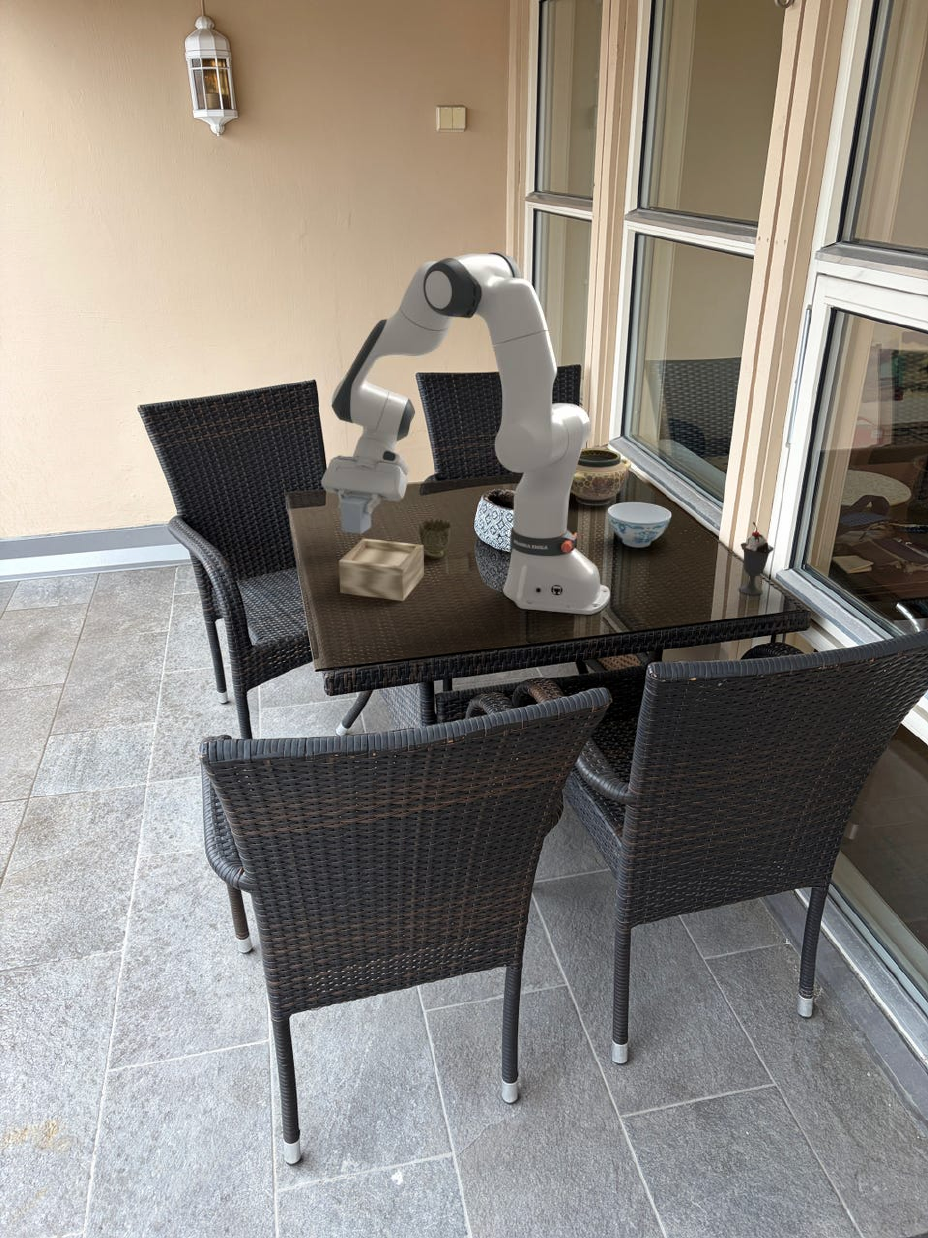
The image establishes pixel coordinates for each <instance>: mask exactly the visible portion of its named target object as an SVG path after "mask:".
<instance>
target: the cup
mask: <svg viewBox="0 0 928 1238" xmlns="http://www.w3.org/2000/svg"><path fill="white" fill-rule="evenodd" d="M418 529H419V537H420V543H421V545H423V547H424V551H427V552H426V554H427V557H428V558H430V559H436V560H437V559H440V558H442V557H443V555H444V551H445V550H447V548H448V547H449V544H450V540H451V531H452V523H451V521H447V520H445V521H443V520H442V519H438V518H437V519H435V521H434V519H430V520H427V519H424V520H423V521H420V523H419V525H418Z"/></svg>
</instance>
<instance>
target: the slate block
mask: <svg viewBox="0 0 928 1238" xmlns="http://www.w3.org/2000/svg"><path fill="white" fill-rule="evenodd" d="M339 502H340V501H339ZM370 502H371V498H368V497H360V496H352V495H348V496H347V498H344V500H343V501H341V502H340V510H339V511H340V525H341V532H343V533H345V532H346V533H353V534H359V535H362V534H363V533H365V532H366V531H368V530H370V529H371V528H372V517H371V515H372V514H371V515H368V514H364V512H363V509H364V505H365V504H366V505H368V504H369V503H370Z"/></svg>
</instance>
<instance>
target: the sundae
mask: <svg viewBox="0 0 928 1238" xmlns="http://www.w3.org/2000/svg"><path fill="white" fill-rule="evenodd" d="M752 524H753V526H754V527H755V531H753V532H752V534H751V536H750V537H749V538H748V539H747V540H746V542H742V543H741V544H740V547H741V550H742V551H743V568H744V569H743V570H744V572H746V574H747V575H748V576H749V580H748V583H747V585H742V586H739V587H738V591H739V592H740V593H741V594H744V595H747V596H759V595H762V594H763V590H762V589H761V588H760V587H758V586H756V584H755V583H756V577H758V576H760V575H761V574H762V573H764V570H765V568H766V565H767V562H768V559H769V556H770V553H772V552H773V551H774V549H775V548H774V547H773V546H771V545H770V544H769V543H768V542H767V540H766V537H765V536H764V535H763V534H760V532H759V531H758V527H757V525H756V522H754V521H753V522H752Z"/></svg>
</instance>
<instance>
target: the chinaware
mask: <svg viewBox="0 0 928 1238" xmlns="http://www.w3.org/2000/svg"><path fill="white" fill-rule="evenodd" d="M607 517H608V521H609V525H610V526H611V529H612V530H613V531H612V532H614V533H615V534H616V536H618V537H619V538H620V539H622V541H621V542H622V543H623V545H626V546H628V547H632V548H645V547H648V546H650V545H651V542H653V541H655V540H657V539H658V538H659V537H660V536H661V535H662V534H663V533H664V532H665V530H666V529H667V527H668V525H669V523H670V521H671V517H672V512H671V511H670V510H668V509H667V508H665V507H664V506H662V505H661V506H660V505H657V504H653V503H650V502H649V503H648V502H639V501H638V502H636V501H631V502H629V501H628V502H620V503H616V504H613V505H611V506H609V507H608V508H607Z"/></svg>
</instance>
